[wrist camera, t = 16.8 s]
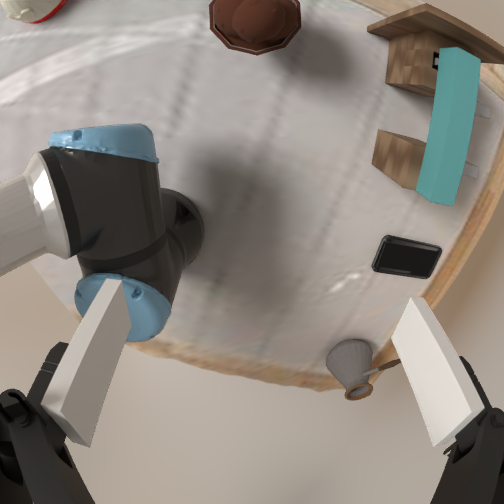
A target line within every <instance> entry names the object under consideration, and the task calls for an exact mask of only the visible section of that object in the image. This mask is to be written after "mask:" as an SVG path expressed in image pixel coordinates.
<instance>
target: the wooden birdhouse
mask: <svg viewBox="0 0 504 504" xmlns="http://www.w3.org/2000/svg"><path fill="white" fill-rule="evenodd" d="M367 32H370V33H373V34H377V35H380V36H383V37H386V38H389V39H390V44H389V55H388V64H387V73H386V81H385V83H387V84H390V85H394V86H397V87H400V88H403V89H406V90H410V91H413V92H416V93H418V94H421V95H424V96H428V97H435V91H436V83H437V74H438V70H436V69H433V68H432V64H433V58H439V53H440V48H451V47H458V48H460V49H462V50H464V51H466V52H468V53H470V54H472V55H473V56H475V57H477V58H479V59H481V63H494V64H504V47H503V46H501V45H500V44H498V43H497V42H495V41H494V40H492V39H491V38H489V37H488V36H486V35H485V34H483V33H481V32H480V31H478V30H476V29H475V28H473V27H471V26H470V25H468V24H466V23H464V22H463V21H461V20H459V19H457V18H455V17H453V16H451V15H449V14H448V13H446V12H444V11H442V10H440V9H437V8H435V7H433V6H431V5H429V4H427V3H426V4H423V5H420V6H417V7H414V8H411V9H409V10H406V11H403V12H401V13H398V14H396V15H393V16H391V17H388V18H386V19H383V20H381V21H379V22H376V23H374V24H372V25H369V26H368V27H367Z"/></svg>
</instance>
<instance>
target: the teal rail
mask: <svg viewBox="0 0 504 504" xmlns="http://www.w3.org/2000/svg"><path fill="white" fill-rule="evenodd" d="M480 65H481V59H479V58H477V57H475V56H473V55H472V54H470V53H468V52H466V51H464V50H462V49H460V48H458V47H451V48H440V53H439V58H433V64H432V68H433V69H436V70H438V74H437V83H436V91H435V98H434V104H433V111H432V117H431V123H430V128H429V133H428V138H427V143H426V148H425V153H424V157H423V162H422V166H421V170H420V175H419V179H418V183H417V186H416V191H417V192H418V193H420V194H421V195H422V196H423V197H425V198H426V199H427V200H429V201H430V202H434V203H439V204H444V205H449V206H453V204H454V201H455V198H456V194H457V191H458V187H459V184H460V180H461V176H462V172H463V168H464V164H465V160H466V156H467V151H468V147H469V142H470V137H471V132H472V127H473V121H474V115H475V109H476V102H477V94H478V86H479V77H480Z"/></svg>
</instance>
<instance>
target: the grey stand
mask: <svg viewBox="0 0 504 504" xmlns="http://www.w3.org/2000/svg"><path fill="white" fill-rule="evenodd" d="M490 112H491V108H489V107H487V106H485V105H483V104H482V103H480V102H478V101H477V102H476V109H475V115H476V116H480V117H484V118H487V119H489V118H490ZM478 171H479V168H478V167H477V166H475V165H473V164H471V163H469V162H467V161H465V164H464V168H463V172H462V174H463V175H467V176H470V177H473V178H477V174H478Z"/></svg>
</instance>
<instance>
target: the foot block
mask: <svg viewBox="0 0 504 504" xmlns="http://www.w3.org/2000/svg"><path fill="white" fill-rule="evenodd" d="M425 148H426V143H425V142H423V141H420V140H417V139H414V138H410V137H407V136H403V135H399V134H395V133H391V132H387V131H383V130H379V129H378V133H377V139H376V144H375V149H374V154H373V159H372V165H374V166H375V167H376V168H378V169H379V170H380V171H382V172H383V173H384V174H386V175H387V176H389V177H390V178H391V179H392V180H394V181H395V182H396V183H398V184H399V185H400V186H402V187H403V188H406V189H411V190H416V186H417V183H418V179H419V175H420V170H421V166H422V162H423V157H424V153H425Z"/></svg>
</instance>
